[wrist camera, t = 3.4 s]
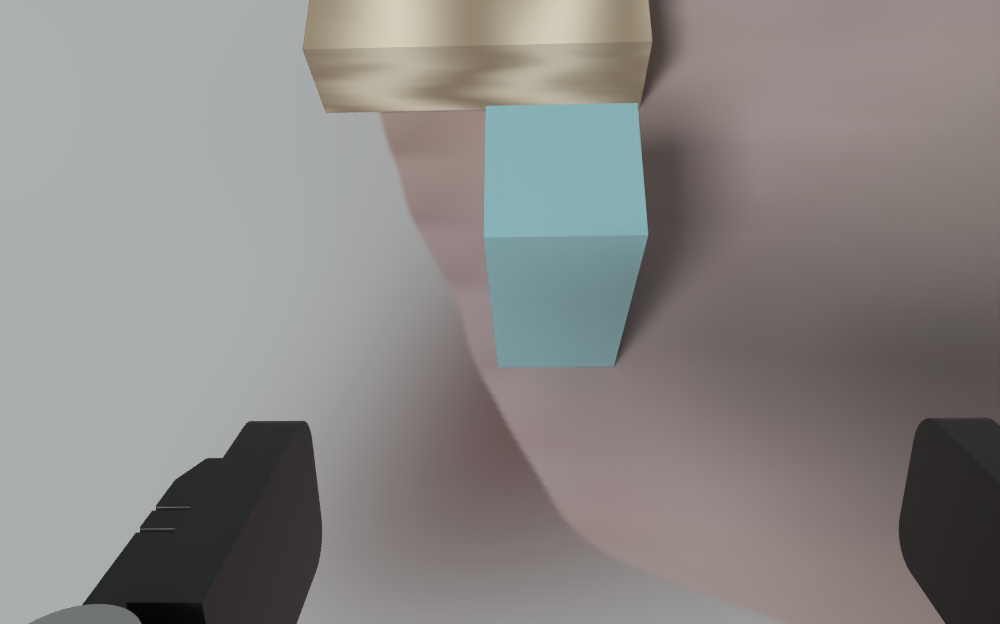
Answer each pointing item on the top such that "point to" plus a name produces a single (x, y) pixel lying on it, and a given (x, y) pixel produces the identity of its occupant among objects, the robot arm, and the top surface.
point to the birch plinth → (476, 53)
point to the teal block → (562, 230)
